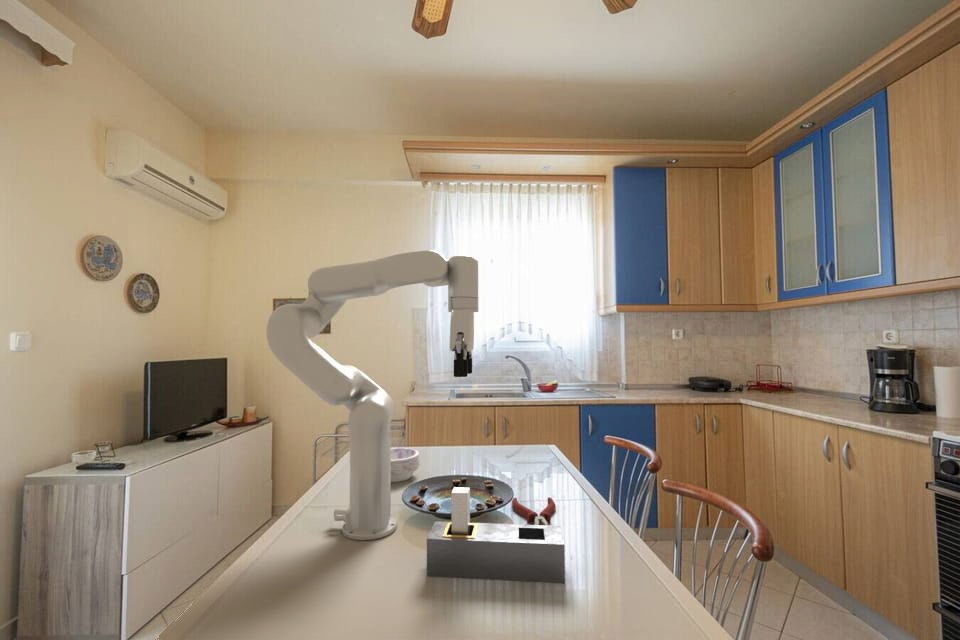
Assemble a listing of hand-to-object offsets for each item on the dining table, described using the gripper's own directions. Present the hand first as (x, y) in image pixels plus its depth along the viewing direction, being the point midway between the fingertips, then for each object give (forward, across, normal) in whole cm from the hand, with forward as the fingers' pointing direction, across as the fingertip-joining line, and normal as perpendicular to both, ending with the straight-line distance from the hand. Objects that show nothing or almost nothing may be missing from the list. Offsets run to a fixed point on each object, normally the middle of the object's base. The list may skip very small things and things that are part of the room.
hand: (463, 375), depth 106 cm
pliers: (+37, -7, +16) cm, 41 cm away
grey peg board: (+36, +19, +9) cm, 42 cm away
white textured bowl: (+37, -34, -27) cm, 57 cm away
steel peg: (+34, +19, +2) cm, 39 cm away
